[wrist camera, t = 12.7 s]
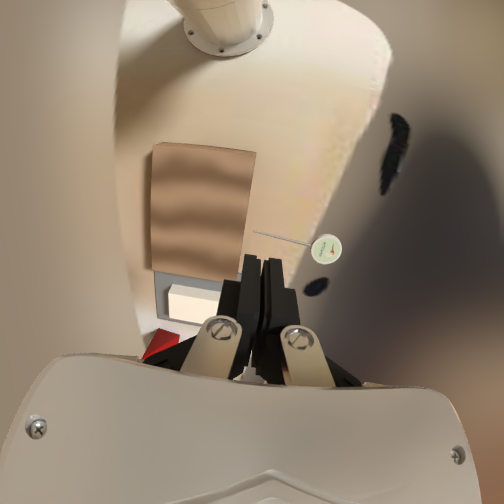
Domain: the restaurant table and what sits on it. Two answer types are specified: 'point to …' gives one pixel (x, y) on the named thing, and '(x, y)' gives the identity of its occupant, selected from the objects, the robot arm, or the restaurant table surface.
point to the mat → (167, 279)
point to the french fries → (161, 342)
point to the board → (199, 209)
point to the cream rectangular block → (192, 303)
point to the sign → (320, 247)
